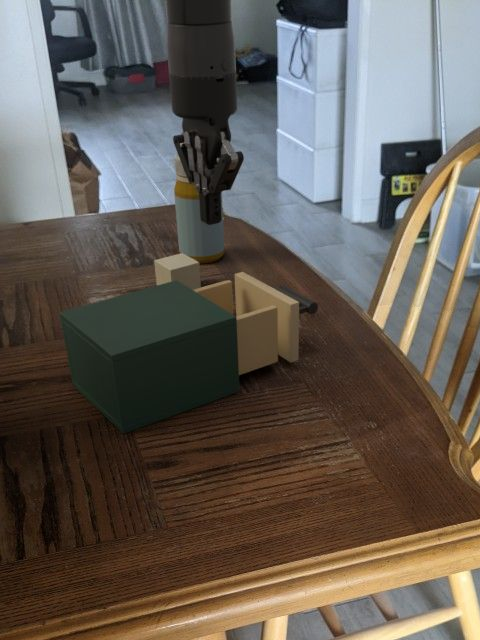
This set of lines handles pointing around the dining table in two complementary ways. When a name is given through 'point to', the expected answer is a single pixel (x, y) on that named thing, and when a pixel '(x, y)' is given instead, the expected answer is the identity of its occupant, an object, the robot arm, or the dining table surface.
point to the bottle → (195, 222)
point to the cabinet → (151, 353)
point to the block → (178, 270)
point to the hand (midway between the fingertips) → (211, 222)
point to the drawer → (261, 319)
